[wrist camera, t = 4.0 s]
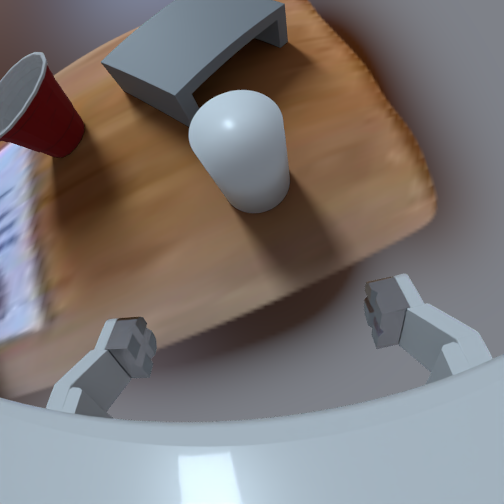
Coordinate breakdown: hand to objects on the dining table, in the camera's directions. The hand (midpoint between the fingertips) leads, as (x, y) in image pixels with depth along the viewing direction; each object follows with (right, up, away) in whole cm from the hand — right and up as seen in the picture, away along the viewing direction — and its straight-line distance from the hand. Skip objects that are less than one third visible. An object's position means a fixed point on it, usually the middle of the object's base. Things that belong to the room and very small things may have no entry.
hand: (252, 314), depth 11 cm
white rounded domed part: (0, +8, +16) cm, 18 cm away
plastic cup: (-23, +16, +21) cm, 35 cm away
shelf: (-6, +24, +20) cm, 32 cm away
